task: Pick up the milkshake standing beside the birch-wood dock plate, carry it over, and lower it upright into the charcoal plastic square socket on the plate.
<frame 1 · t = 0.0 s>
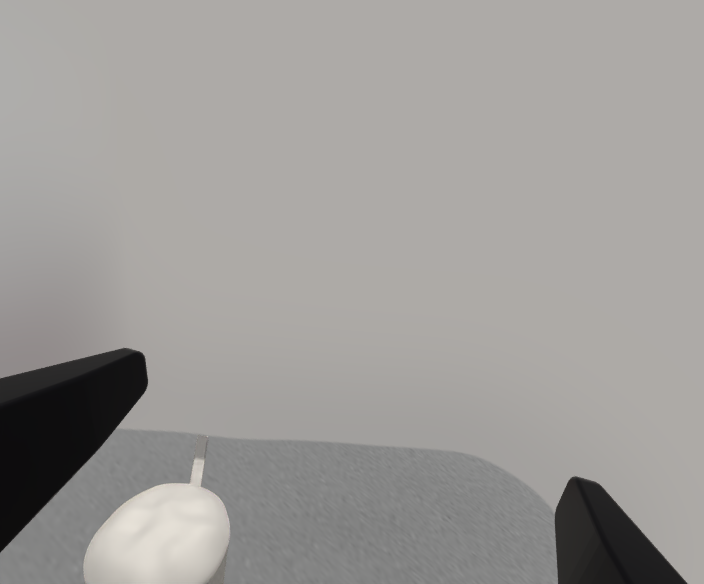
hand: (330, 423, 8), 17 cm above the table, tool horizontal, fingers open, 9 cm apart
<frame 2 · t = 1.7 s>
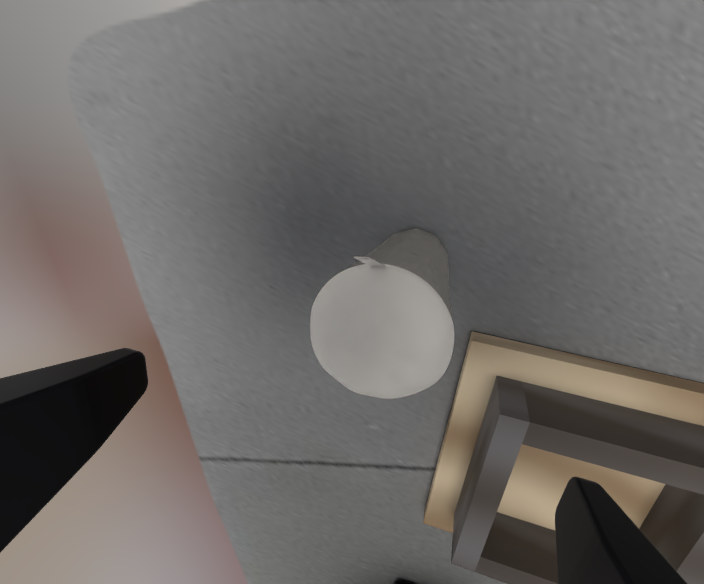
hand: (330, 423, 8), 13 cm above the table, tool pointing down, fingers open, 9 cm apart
dock: (568, 465, 21), on the table
milkshake: (415, 251, 19), on the table
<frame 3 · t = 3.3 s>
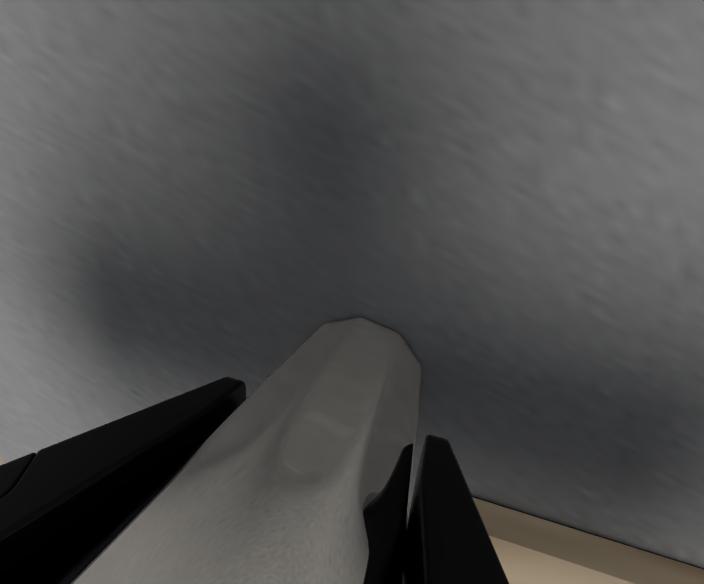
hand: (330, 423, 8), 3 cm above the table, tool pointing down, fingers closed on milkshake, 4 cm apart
milkshake: (363, 354, 10), on the table, touching gripper
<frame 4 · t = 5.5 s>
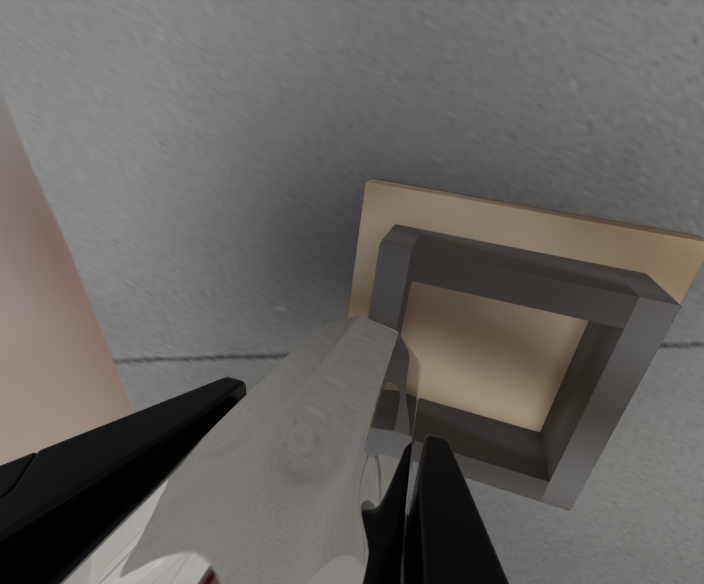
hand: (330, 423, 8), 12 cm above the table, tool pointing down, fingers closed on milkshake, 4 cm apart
dock: (481, 337, 19), on the table
milkshake: (362, 353, 10), point 9 cm above the table, touching gripper
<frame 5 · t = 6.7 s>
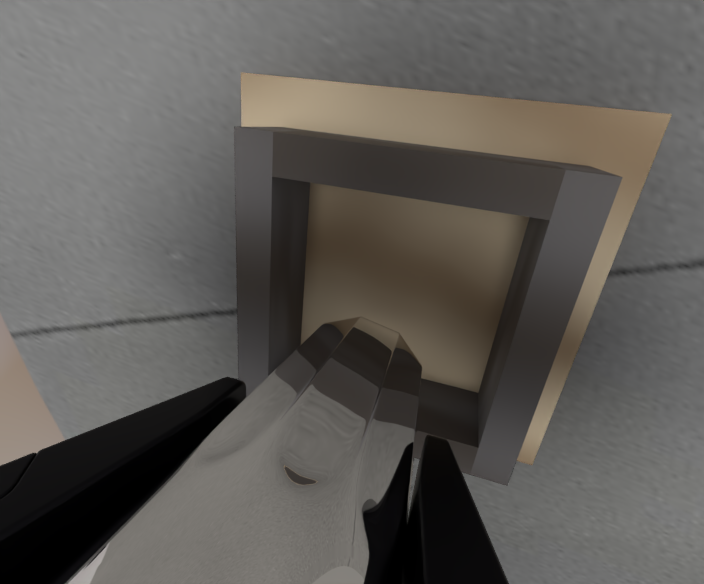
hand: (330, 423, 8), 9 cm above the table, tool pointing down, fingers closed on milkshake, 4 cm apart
dock: (403, 276, 16), on the table
milkshake: (363, 354, 10), point 6 cm above the table, touching gripper
when the fingers open (5 cm above the table, at t = 7.7 s): milkshake drops 2 cm, resting on dock.
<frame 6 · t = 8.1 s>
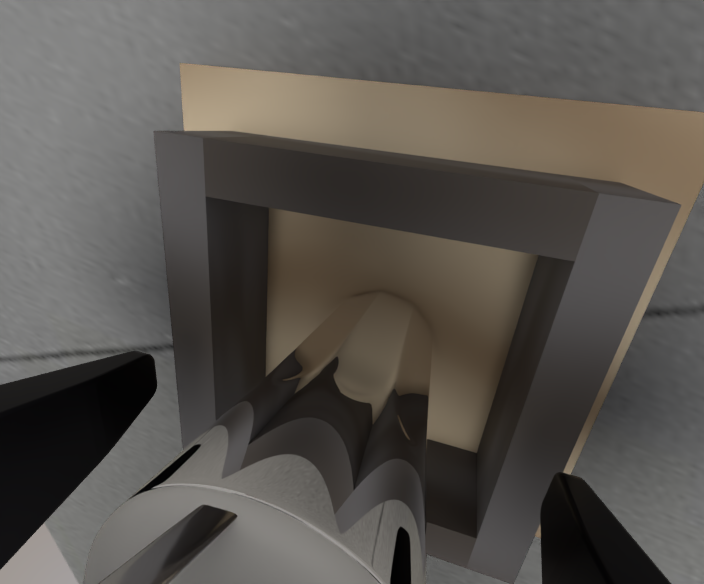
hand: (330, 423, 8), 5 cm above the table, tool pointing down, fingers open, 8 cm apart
dock: (385, 311, 13), on the table
milkshake: (382, 324, 12), point 1 cm above the table, touching dock
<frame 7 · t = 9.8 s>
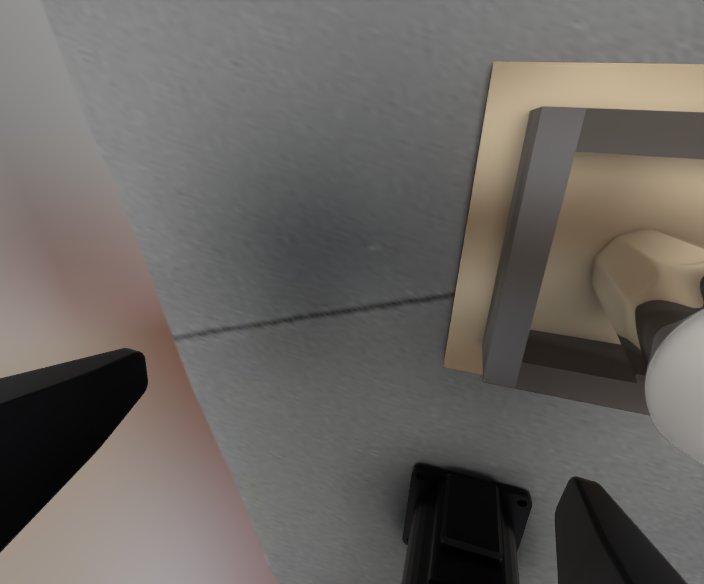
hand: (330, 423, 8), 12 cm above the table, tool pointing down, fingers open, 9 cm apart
dock: (629, 250, 16), on the table
milkshake: (638, 257, 15), point 1 cm above the table, touching dock
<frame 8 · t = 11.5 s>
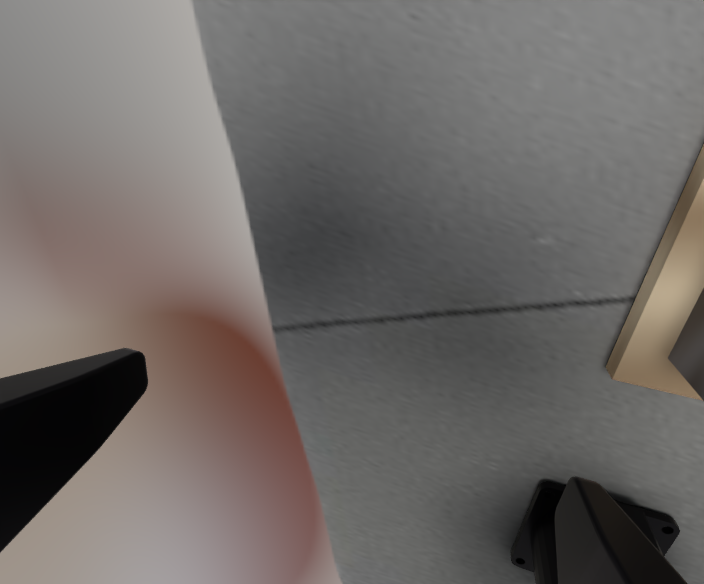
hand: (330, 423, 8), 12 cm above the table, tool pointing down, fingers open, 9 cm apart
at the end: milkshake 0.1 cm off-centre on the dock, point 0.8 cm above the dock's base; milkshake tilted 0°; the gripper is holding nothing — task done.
